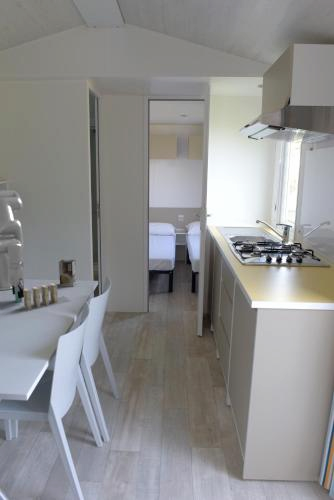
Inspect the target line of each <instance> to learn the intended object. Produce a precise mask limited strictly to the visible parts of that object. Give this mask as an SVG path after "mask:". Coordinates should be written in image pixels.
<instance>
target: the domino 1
mask: <svg viewBox="0 0 334 500" xmlns="http://www.w3.org/2000/svg"><path fill="white" fill-rule="evenodd" d="M23 292H24V297H23V302H24V303H23V304H24V305H23V306H24V307H25V308H27V309H28V310H29V309H32V308H31V304H32V296H31V294H32V293H31V290H30V289H28V288H24V289H23Z"/></svg>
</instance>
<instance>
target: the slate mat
mask: <svg viewBox="0 0 334 500" xmlns="http://www.w3.org/2000/svg"><path fill="white" fill-rule="evenodd" d="M68 302H72V301H71V300H70V299H69V298H67V297H65V296H60V297H58V303H53V302H52V301H51V299H49V305H45V304H43V303H42V301H40V306H41V307H36V306H34V304H33V303H31V308H32V309H29V310H28V309H27V308H25V307H24V305H22V306H19V308H20V309H21V310H23V311H24V312H26V313H27V312H30V311H34V310H35V311H36V310H39V309H43V308H48V307H52V306H55V305H60V304H63V303H68Z"/></svg>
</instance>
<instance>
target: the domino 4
mask: <svg viewBox="0 0 334 500" xmlns="http://www.w3.org/2000/svg"><path fill="white" fill-rule="evenodd" d="M49 292H50V293H49V296H50V300H51V301H52V302H53V303H58V298H59V297H58V285H57V284H55V283H52V282H51V283H50V284H49Z"/></svg>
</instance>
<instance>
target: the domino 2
mask: <svg viewBox="0 0 334 500" xmlns="http://www.w3.org/2000/svg"><path fill="white" fill-rule="evenodd" d="M32 300H33V301H32V304H34V306H36V307H41V306H40V302H41V293H40V288H38V287H36V286H34V287H32Z"/></svg>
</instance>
